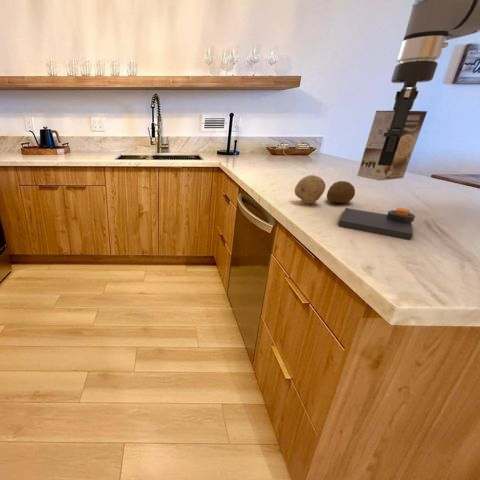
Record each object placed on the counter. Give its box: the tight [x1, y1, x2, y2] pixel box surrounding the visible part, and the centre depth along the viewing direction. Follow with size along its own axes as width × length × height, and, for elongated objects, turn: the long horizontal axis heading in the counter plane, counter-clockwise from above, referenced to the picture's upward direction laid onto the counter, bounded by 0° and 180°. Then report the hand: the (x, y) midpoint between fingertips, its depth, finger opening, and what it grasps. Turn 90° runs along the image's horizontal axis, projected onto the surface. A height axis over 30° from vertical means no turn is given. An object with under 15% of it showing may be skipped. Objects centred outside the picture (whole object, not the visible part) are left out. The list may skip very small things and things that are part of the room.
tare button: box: [395, 207, 411, 216], centre depth 80 cm, size 3×3×2 cm
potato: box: [326, 180, 356, 204], centre depth 100 cm, size 8×12×8 cm, turn 139°
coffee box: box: [356, 110, 428, 181], centre depth 72 cm, size 9×6×16 cm
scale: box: [337, 207, 416, 241], centre depth 81 cm, size 16×14×4 cm
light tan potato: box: [294, 174, 326, 205], centre depth 98 cm, size 9×9×10 cm
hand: (384, 162), depth 74 cm, fingers closed on coffee box, 10 cm apart
